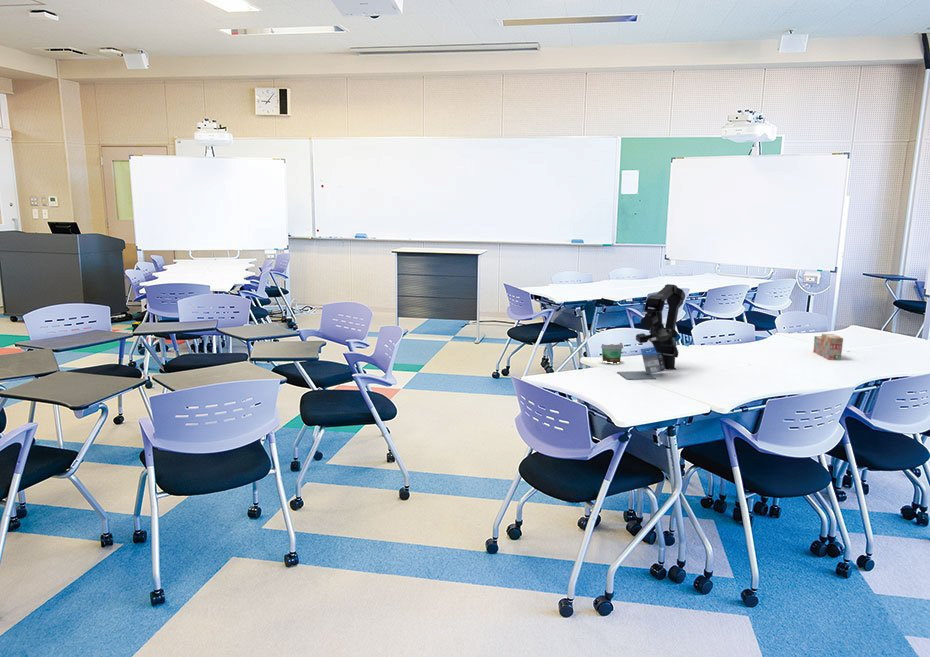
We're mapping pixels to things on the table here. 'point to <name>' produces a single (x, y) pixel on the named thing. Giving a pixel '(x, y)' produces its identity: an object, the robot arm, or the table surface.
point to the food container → (611, 352)
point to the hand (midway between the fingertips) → (657, 352)
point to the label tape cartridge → (652, 361)
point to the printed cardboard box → (828, 346)
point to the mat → (636, 375)
